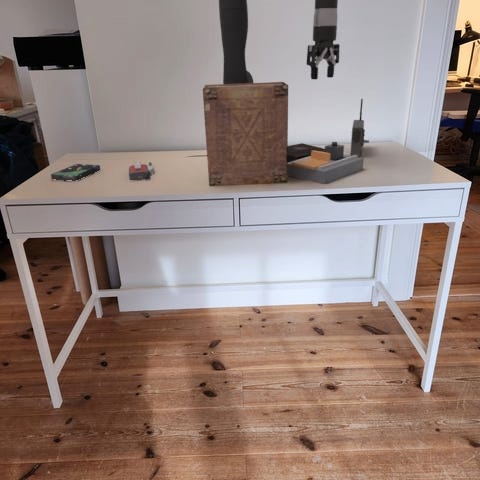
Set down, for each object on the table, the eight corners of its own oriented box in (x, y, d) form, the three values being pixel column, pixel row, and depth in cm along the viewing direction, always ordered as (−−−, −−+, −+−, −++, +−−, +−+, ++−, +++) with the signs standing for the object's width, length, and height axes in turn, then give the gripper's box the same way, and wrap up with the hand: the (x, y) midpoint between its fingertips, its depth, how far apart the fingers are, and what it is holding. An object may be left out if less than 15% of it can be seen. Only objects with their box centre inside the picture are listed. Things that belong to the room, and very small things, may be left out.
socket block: (285, 174, 149) (285, 160, 147) (325, 162, 163) (325, 149, 161) (323, 183, 138) (324, 169, 136) (362, 169, 152) (363, 155, 150)
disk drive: (77, 171, 166) (51, 181, 154) (76, 163, 165) (49, 173, 152) (101, 172, 163) (76, 183, 151) (100, 164, 162) (75, 175, 149)
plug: (323, 166, 153) (325, 142, 150) (331, 164, 156) (333, 140, 153) (334, 168, 150) (336, 144, 147) (342, 166, 153) (344, 142, 150)
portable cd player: (300, 152, 180) (300, 143, 178) (330, 160, 167) (330, 150, 165) (268, 159, 172) (268, 149, 170) (296, 168, 158) (297, 157, 157)
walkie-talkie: (155, 180, 150) (153, 166, 168) (154, 168, 148) (152, 155, 166) (129, 183, 148) (129, 168, 166) (127, 170, 146) (128, 156, 164)
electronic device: (351, 148, 183) (354, 98, 174) (368, 148, 181) (372, 97, 173) (349, 158, 167) (353, 103, 159) (368, 158, 166) (373, 103, 157)
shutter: (292, 165, 145) (292, 155, 143) (310, 159, 151) (311, 149, 149) (314, 169, 139) (314, 159, 137) (332, 163, 145) (333, 153, 143)
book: (208, 186, 141) (201, 87, 128) (209, 178, 149) (203, 84, 137) (287, 183, 141) (288, 84, 128) (284, 175, 149) (284, 81, 137)
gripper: (329, 25, 148) (326, 76, 155) (301, 25, 139) (299, 79, 146) (347, 24, 143) (344, 77, 150) (320, 24, 134) (317, 80, 141)
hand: (322, 78), depth 148 cm, fingers open, 8 cm apart
